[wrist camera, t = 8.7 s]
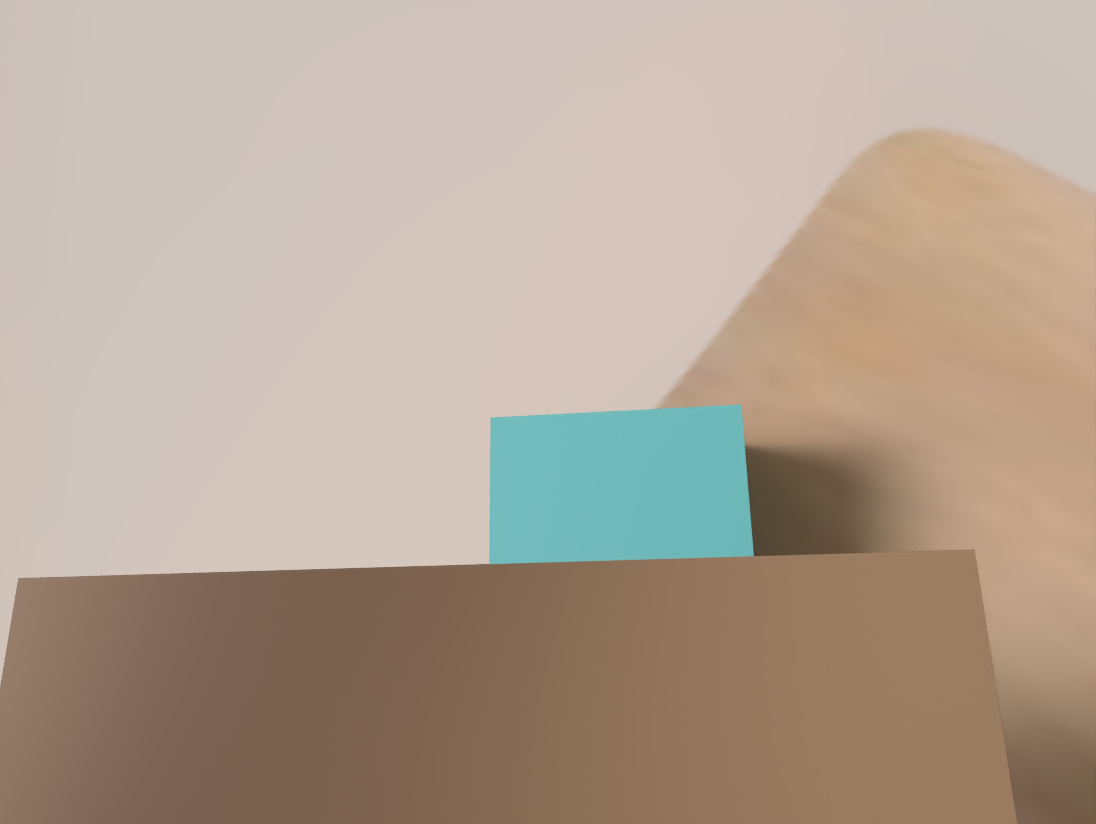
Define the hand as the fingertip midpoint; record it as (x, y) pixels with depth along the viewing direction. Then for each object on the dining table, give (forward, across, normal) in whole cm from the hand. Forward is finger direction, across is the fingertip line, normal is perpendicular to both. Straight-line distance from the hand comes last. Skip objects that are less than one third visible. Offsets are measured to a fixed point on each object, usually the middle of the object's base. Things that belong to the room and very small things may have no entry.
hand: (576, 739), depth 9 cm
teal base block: (+12, 0, +7) cm, 14 cm away
